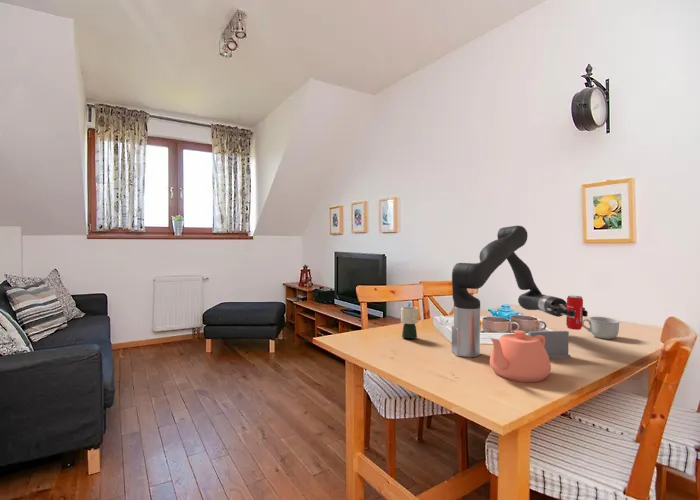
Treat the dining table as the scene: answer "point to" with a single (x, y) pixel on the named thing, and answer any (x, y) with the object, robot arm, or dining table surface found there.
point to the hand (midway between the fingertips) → (580, 313)
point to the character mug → (409, 321)
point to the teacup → (603, 327)
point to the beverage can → (577, 306)
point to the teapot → (520, 357)
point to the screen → (554, 342)
